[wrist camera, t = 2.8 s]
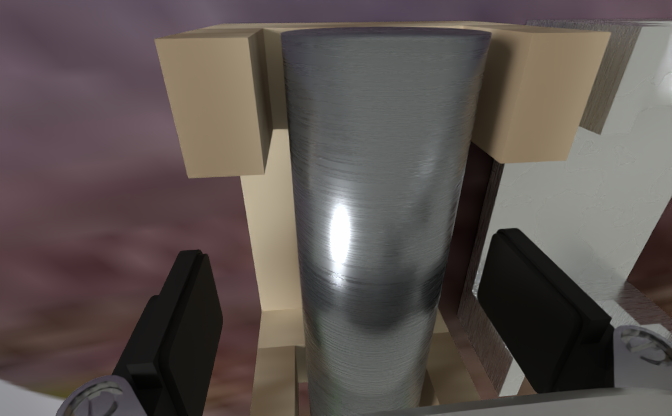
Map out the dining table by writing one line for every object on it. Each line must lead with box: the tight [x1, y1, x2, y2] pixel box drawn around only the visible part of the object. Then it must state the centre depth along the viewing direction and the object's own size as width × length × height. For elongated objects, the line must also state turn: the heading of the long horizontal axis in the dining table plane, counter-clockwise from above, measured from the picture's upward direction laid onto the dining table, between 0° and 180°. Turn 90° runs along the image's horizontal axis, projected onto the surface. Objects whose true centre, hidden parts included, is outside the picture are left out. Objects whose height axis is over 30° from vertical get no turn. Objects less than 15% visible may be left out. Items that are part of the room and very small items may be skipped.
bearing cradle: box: [155, 21, 611, 416], centre depth 12 cm, size 8×14×6 cm, turn 0°
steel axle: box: [281, 27, 492, 416], centre depth 10 cm, size 4×14×4 cm, turn 0°
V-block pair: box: [457, 18, 672, 397], centre depth 14 cm, size 8×14×4 cm, turn 0°
